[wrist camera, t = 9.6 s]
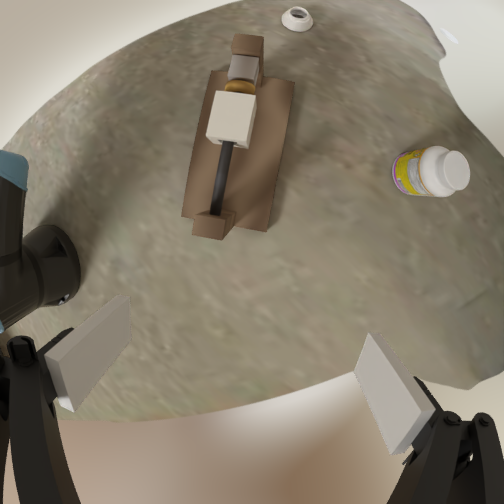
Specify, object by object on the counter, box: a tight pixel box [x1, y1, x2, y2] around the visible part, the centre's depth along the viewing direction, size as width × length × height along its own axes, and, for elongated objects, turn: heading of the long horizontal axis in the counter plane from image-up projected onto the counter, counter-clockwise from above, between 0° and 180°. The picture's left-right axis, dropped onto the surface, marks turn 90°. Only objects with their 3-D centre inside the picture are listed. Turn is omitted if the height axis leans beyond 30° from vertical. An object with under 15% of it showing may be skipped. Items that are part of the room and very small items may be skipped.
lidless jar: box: [282, 7, 313, 32], centre depth 30 cm, size 5×3×5 cm
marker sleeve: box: [206, 90, 257, 149], centre depth 26 cm, size 4×5×4 cm
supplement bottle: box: [392, 146, 470, 197], centre depth 30 cm, size 7×7×13 cm
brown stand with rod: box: [181, 34, 295, 240], centre depth 30 cm, size 12×22×13 cm, turn 169°
